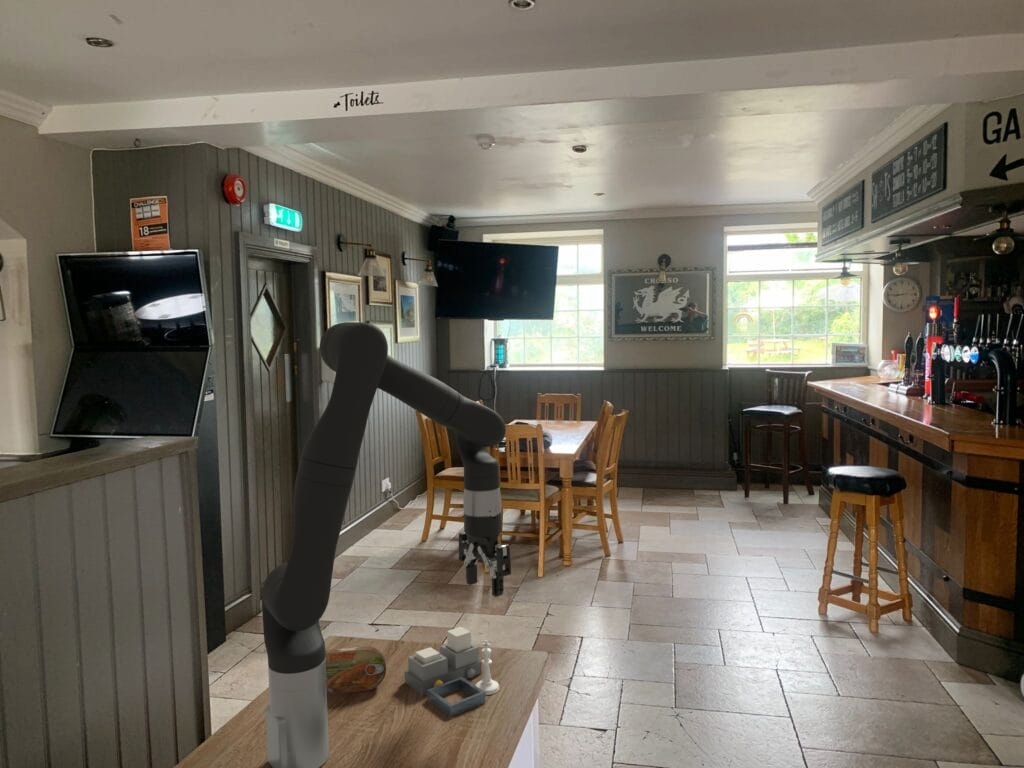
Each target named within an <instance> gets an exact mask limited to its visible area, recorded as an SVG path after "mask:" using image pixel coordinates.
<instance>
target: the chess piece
mask: <svg viewBox="0 0 1024 768" xmlns="http://www.w3.org/2000/svg"><path fill="white" fill-rule="evenodd" d="M481 646H482V647H484V648H482V649H481V654H482V657H483V659H481V663H482V665H484V666H483V675H482V679H481V680H479V681H477V683H476V684H474V685H475V686H476V687H478V688H479V689H481V690H482V691H484V692H485V695H486V696H490V695H494V694H496V693H498V692H499V691H498V690H500V684H499V683H498V681H496V680H494V679H492V676H491V671H490V665H491V664H492V663H493V661H492V659H490V657H491V653H492V649H491V648H490V647H491V646H492V645H491V643H489V641H488V639H485V641H484V642H482V643H481Z"/></svg>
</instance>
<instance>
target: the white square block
mask: <svg viewBox="0 0 1024 768" xmlns="http://www.w3.org/2000/svg"><path fill="white" fill-rule="evenodd" d="M414 655H416V659H417V660H418V661H420V662H421V663H423V664H427V663H430V662H433V661H436V660H439V659H440V652H439V651H438V650H436V649H434V648H432V647H431V646H430V647H427V648H424V649H421V650H417V651H415V652H414Z"/></svg>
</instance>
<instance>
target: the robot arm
mask: <svg viewBox="0 0 1024 768" xmlns="http://www.w3.org/2000/svg"><path fill="white" fill-rule="evenodd" d="M319 353H320V356H321V358H322V361H323V362H324V364H325V365H326V366H327V367H328V368H329V369H331V370H332V371H334V372H335V377H334V381H333V387H332V391H331V395H330V398H329V401H328V403H327V405H326V407H325V410H324V411H323V413H322V415H321V417H320V418H319V419H318V421H317V423H316V424H315V426H314V427H313V429H312V431H311V432H310V434H309V436H308V438H307V440H306V442H305V443H304V444H305V445H304V446H303V449H302V453H301V456H300V461H299V465H298V469H297V473H296V477H295V482H294V489H293V490H294V491H293V537H292V543H291V544H292V545H291V549H290V552H289V555H288V559H287V562H284V563H280V564H278V566H276V567H275V568H274V569H272V570H271V571H270V572H269V574H268V575H267V576H266V578H265V581H264V583H263V585H262V588H261V592H262V593H261V611H262V627H263V630H262V631H263V640H264V646H265V650H266V651H265V652H266V655H267V664H268V665H267V666H268V669H267V671H268V695H269V705H268V706H266V707H265V720H266V721H265V725H266V746H267V747H266V749H267V750H266V751H267V762H268V763H269V765H270V766H271V767H272V768H320V767H322V766H323V765H324V764H325V763H326V762H327V760H328V758H329V755H330V753H329V752H330V751H329V750H330V749H329V748H330V747H329V745H330V741H329V723H328V718H329V717H328V697H327V695H328V694H327V688H326V658H325V651H326V644H325V642H326V641H325V639H324V635H323V634H322V629H321V627H320V619H321V618H322V616H323V615H324V613H325V612H326V609H327V607H328V604H329V600H330V595H331V587H332V579H333V573H334V572H333V571H334V565H335V557H336V551H337V546H338V542H339V537H340V534H341V530H342V526H343V522H344V519H345V515H346V510H347V506H348V502H349V499H350V495H351V491H352V488H353V484H354V480H355V475H356V471H357V468H358V461H359V456H360V452H361V447H362V443H363V440H364V436H365V432H366V428H367V423H368V419H369V416H370V415H369V414H370V411H371V407H372V404H373V401H374V398H375V396H376V392H377V391H378V390H377V389H379V390H381V391H383V392H385V393H387V394H388V395H389V396H390V395H391V397H394V398H395V399H396V400H398V401H400V402H402V403H403V404H405V405H407V406H409V407H410V408H412V409H414V410H415V411H416V412H417V413H420V414H422V415H423V416H425V417H427V418H429V419H430V420H431V421H433V422H435V423H436V424H438V425H440V426H443V427H445V428H448V429H451V430H452V429H453V430H454V431H455V438H456V444H457V449H458V451H459V455H460V459H461V462H462V464H463V465H462V466H463V488H464V490H463V530H464V531H463V532H459V534H458V561H460V562H463V565H464V567H465V578H466V584H467V585H469V586H471V585H475V584H476V583H478V565H477V563H478V562H479V561H481V562H482V563H484V566H485V568H486V569H489V572H490V574H491V576H492V577H491V594H492V596H493V597H495V598H496V597H499V596H502V595H503V594H504V591H505V589H504V587H505V586H504V577H507V576H511V575H512V568H511V564H512V563H511V550H510V549H511V548H510V545H509V544H500V542H499V536H500V534H501V533H502V531H503V524H502V523H503V522H502V521H503V520H502V519H503V518H502V516H503V515H502V496H501V495H502V494H501V488H500V487H501V486H500V484H501V483H500V466H499V462H498V460H497V459H496V458H494V457H493V456H492V455H491V454H490V453H489V450H488V448H492V447H495V446H497V445H499V444H500V443H502V441H503V440H504V439H505V436H506V433H507V432H506V431H507V429H506V428H507V427H506V423H505V420H504V419H503V417H502V416H501V415H500V414H499V413H498V412H497V411H495V410H493V409H491V408H490V407H488V406H486V405H483V404H481V403H479V402H477V401H475V400H472V399H470V398H468V397H466V396H464V395H462V394H461V393H460V392H458V391H456V390H455V389H453V388H452V387H450V386H449V385H448V384H446V383H445V382H443V381H441V380H439V379H437V378H436V377H434V376H431V375H430V374H427V373H424V372H423V371H421V370H418V369H416V368H414V367H412V366H410V365H408V364H405V363H403V362H401V361H400V360H397V359H395V358H394V357H392V356H391V355H389V354H388V353H389V346H388V341H387V337H386V335H385V333H384V332H383V330H382V329H381V328H380V327H378V326H377V325H375V324H373V323H369V322H359V321H358V322H357V321H356V322H355V321H348V322H347V321H346V322H340V323H336V324H333V325H331V326H330V327H329V328H327V329H326V330H325V331H324V332H323V334H322V335H321V338H320V341H319ZM465 550H466V551H465ZM465 552H466V553H465ZM494 559H495V560H494ZM493 560H494V561H493ZM495 567H496V568H495Z"/></svg>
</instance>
